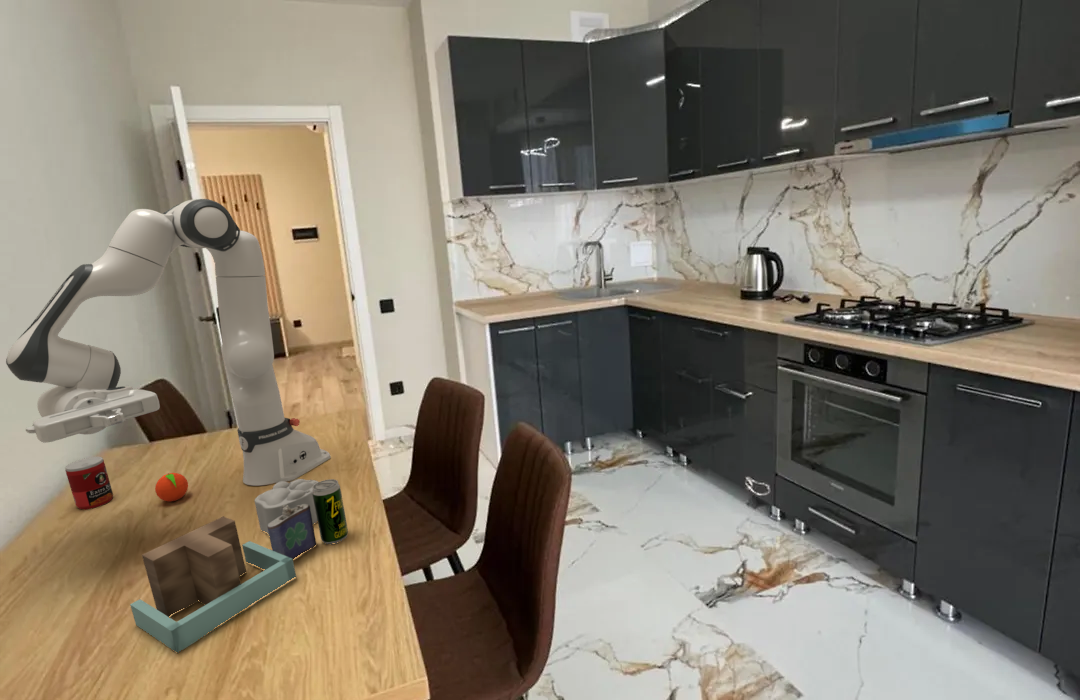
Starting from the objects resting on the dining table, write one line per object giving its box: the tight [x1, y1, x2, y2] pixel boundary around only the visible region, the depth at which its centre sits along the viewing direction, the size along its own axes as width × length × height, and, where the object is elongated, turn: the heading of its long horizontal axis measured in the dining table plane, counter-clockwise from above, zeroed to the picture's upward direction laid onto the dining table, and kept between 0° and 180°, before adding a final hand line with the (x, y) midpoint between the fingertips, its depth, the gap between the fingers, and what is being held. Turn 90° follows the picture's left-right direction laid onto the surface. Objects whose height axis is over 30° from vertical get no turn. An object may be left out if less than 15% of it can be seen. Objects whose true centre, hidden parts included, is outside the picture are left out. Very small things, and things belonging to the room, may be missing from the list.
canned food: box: [64, 456, 114, 510], centre depth 146 cm, size 8×8×11 cm
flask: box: [267, 504, 317, 559], centre depth 113 cm, size 9×3×11 cm, turn 151°
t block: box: [141, 516, 247, 617], centre depth 102 cm, size 14×12×11 cm
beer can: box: [312, 478, 349, 545], centre depth 118 cm, size 5×5×12 cm
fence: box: [129, 540, 297, 653], centre depth 102 cm, size 21×14×4 cm, turn 147°
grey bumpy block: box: [254, 478, 319, 535], centre depth 127 cm, size 10×13×9 cm
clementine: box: [154, 472, 189, 503], centre depth 143 cm, size 8×7×7 cm
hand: (116, 419), depth 111 cm, fingers closed
